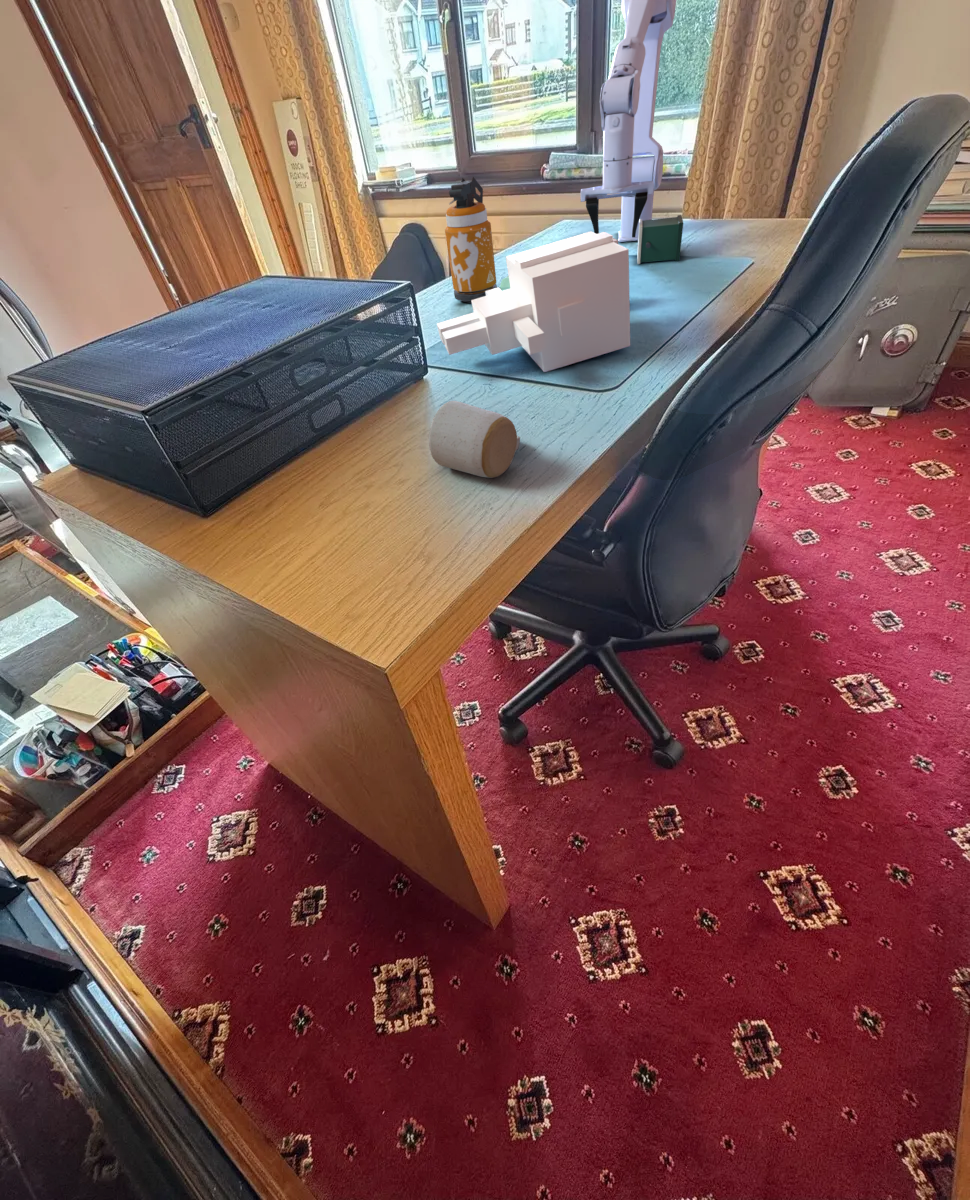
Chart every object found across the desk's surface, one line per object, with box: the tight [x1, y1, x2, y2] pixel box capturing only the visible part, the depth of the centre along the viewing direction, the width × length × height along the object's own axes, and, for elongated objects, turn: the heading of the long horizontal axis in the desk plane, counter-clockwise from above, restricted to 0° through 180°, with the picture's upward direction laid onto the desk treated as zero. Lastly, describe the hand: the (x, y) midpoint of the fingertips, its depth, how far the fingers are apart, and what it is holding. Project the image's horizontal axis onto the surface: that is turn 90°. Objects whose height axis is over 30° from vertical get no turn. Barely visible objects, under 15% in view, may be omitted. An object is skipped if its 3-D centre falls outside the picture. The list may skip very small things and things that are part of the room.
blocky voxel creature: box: [436, 230, 631, 373], centre depth 87 cm, size 15×25×28 cm
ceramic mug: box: [428, 400, 521, 479], centre depth 66 cm, size 11×8×8 cm
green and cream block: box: [636, 214, 684, 265], centre depth 120 cm, size 9×8×7 cm
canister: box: [444, 176, 498, 304], centre depth 111 cm, size 9×11×20 cm
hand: (615, 238), depth 121 cm, fingers open, 7 cm apart
